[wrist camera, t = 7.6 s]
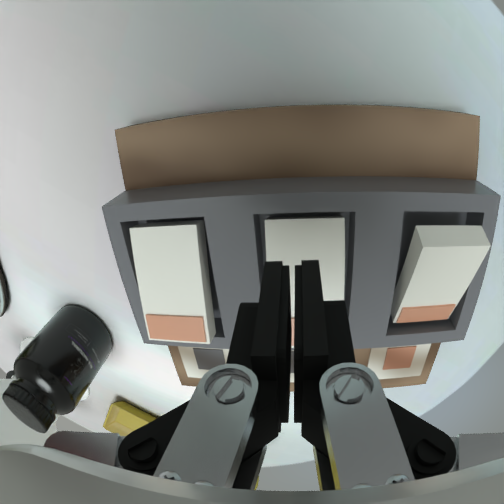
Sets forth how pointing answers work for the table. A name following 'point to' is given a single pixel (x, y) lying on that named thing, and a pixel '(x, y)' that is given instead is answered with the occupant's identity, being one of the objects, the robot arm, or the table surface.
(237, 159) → the board
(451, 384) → the table surface
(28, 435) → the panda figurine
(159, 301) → the rocker
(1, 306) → the salad plate
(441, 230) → the rocker
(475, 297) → the switch housing
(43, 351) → the supplement bottle
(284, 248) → the rocker
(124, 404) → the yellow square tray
